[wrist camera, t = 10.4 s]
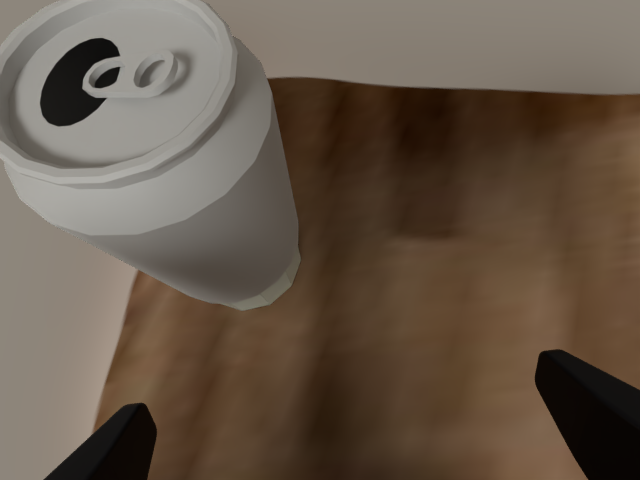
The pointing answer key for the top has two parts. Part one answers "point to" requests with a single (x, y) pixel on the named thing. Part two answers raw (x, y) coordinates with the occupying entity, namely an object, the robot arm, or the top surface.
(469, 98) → the top surface
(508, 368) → the top surface
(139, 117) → the can
